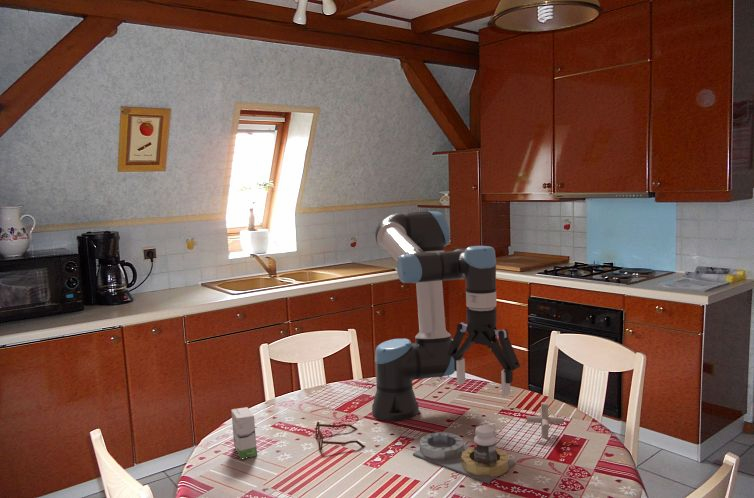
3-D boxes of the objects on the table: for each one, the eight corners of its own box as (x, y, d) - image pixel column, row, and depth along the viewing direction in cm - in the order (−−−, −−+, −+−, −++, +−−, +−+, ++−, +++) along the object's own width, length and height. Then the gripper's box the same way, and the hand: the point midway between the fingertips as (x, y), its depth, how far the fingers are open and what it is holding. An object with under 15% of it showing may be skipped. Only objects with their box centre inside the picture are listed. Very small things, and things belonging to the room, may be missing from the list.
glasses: (315, 435, 178) (314, 419, 177) (357, 430, 180) (357, 414, 180) (320, 454, 165) (319, 437, 164) (365, 448, 167) (365, 431, 167)
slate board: (412, 455, 161) (412, 453, 161) (442, 439, 171) (441, 437, 171) (487, 483, 145) (487, 481, 145) (515, 463, 154) (515, 462, 154)
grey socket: (411, 451, 162) (411, 442, 162) (438, 437, 171) (437, 429, 171) (446, 464, 154) (445, 455, 154) (472, 448, 163) (471, 440, 162)
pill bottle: (470, 465, 153) (468, 429, 152) (484, 458, 157) (483, 422, 156) (487, 473, 149) (485, 435, 148) (501, 465, 152) (500, 428, 151)
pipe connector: (565, 445, 163) (564, 410, 162) (527, 443, 165) (527, 409, 164) (561, 430, 173) (561, 397, 172) (526, 429, 175) (525, 396, 174)
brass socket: (452, 467, 153) (452, 457, 152) (478, 451, 161) (478, 442, 161) (491, 481, 145) (491, 471, 144) (517, 464, 153) (516, 454, 153)
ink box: (257, 456, 165) (255, 415, 163) (240, 460, 162) (237, 419, 161) (250, 444, 172) (247, 405, 171) (233, 448, 170) (230, 408, 169)
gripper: (433, 304, 155) (435, 382, 157) (517, 317, 137) (518, 404, 140) (450, 299, 160) (452, 375, 162) (533, 311, 143) (534, 395, 145)
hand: (482, 389), depth 151 cm, fingers open, 13 cm apart
